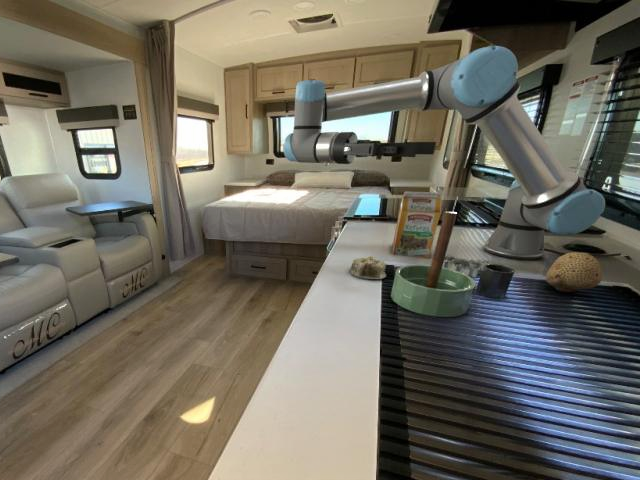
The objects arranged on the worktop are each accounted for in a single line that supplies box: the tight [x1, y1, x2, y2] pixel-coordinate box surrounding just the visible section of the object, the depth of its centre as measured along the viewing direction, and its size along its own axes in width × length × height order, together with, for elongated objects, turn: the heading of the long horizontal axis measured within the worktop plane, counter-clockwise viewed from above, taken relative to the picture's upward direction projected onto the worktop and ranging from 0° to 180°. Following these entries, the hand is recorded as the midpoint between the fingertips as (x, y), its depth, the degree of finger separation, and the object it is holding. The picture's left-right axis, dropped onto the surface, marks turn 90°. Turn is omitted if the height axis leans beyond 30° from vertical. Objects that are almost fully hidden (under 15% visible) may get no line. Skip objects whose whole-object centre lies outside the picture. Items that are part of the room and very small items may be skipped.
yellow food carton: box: [392, 191, 443, 259], centre depth 106 cm, size 11×11×19 cm
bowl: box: [390, 264, 477, 318], centre depth 75 cm, size 16×16×6 cm
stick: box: [425, 210, 458, 289], centre depth 71 cm, size 2×2×20 cm
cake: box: [348, 255, 387, 280], centre depth 92 cm, size 10×10×5 cm
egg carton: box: [442, 254, 490, 278], centre depth 93 cm, size 11×8×4 cm
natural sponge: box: [545, 251, 603, 293], centre depth 78 cm, size 9×9×10 cm
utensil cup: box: [474, 263, 515, 300], centre depth 78 cm, size 6×6×7 cm
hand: (426, 149), depth 73 cm, fingers open, 13 cm apart
